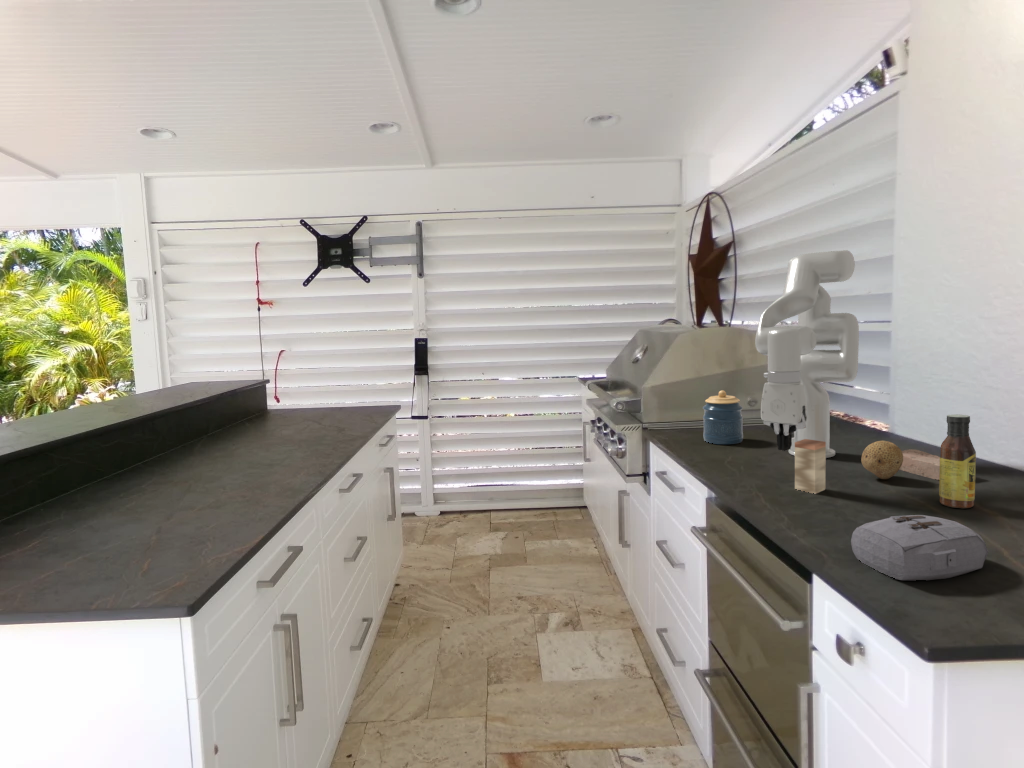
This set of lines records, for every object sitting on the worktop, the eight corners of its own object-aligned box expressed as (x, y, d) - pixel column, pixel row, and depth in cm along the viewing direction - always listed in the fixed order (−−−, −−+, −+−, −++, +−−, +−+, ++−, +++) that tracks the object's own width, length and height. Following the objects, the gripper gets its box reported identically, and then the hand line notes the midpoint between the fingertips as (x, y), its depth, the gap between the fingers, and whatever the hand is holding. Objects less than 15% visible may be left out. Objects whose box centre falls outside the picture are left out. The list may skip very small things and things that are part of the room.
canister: (699, 443, 199) (698, 392, 197) (708, 436, 210) (707, 387, 208) (739, 446, 192) (738, 393, 190) (746, 438, 203) (746, 388, 201)
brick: (973, 480, 145) (974, 461, 145) (946, 483, 143) (947, 465, 143) (913, 465, 161) (913, 448, 161) (888, 468, 159) (888, 451, 159)
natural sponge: (880, 485, 144) (880, 446, 143) (852, 476, 152) (853, 439, 151) (911, 481, 146) (912, 442, 144) (882, 472, 154) (882, 435, 153)
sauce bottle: (976, 511, 123) (979, 419, 121) (940, 507, 127) (942, 417, 125) (972, 502, 129) (975, 413, 127) (937, 498, 132) (939, 412, 130)
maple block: (794, 489, 144) (794, 442, 143) (805, 485, 147) (805, 438, 146) (815, 494, 140) (815, 445, 139) (825, 489, 143) (825, 441, 142)
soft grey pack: (910, 592, 92) (1012, 574, 96) (911, 541, 91) (1014, 525, 95) (838, 555, 107) (929, 541, 110) (838, 511, 106) (930, 498, 110)
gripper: (748, 377, 150) (749, 447, 152) (805, 381, 138) (805, 456, 140) (764, 375, 154) (765, 442, 156) (821, 377, 142) (821, 451, 144)
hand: (784, 449), depth 148 cm, fingers closed
